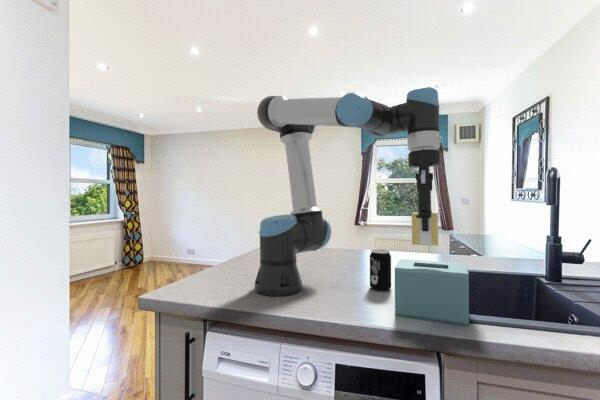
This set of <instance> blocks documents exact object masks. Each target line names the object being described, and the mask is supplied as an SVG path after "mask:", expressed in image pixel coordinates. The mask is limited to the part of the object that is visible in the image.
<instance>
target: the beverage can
mask: <svg viewBox="0 0 600 400" xmlns="http://www.w3.org/2000/svg"><path fill="white" fill-rule="evenodd" d="M370 252H371V253H370V254H369V287H370V288H371V289H372V290H373V291H377V292H386V291H390V289H391V288H392V255H391V254H390V251H389V250H386V249H372V250H371V251H370Z"/></svg>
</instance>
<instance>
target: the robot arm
mask: <svg viewBox="0 0 600 400" xmlns="http://www.w3.org/2000/svg"><path fill="white" fill-rule="evenodd" d="M256 113H257V118H258V121H259V123H260V124H261V125H262V126H263V127H264V128H265V129H267V130H269V131H272V132H277V133H279V138H280V142H281V143H282V144H283V145H284V146H285V155H286V163H287V170H288V179H289V188H290V195H291V196H290V197H291V203H292V204H291V205H292V210H291V212H290V213H289V214H280V215H278V214H277V215H272V216H267V217H265V218H263V219H262V220H261V221H260V223H259V232H258V234H259V269H258V271H257V275H256V278H255V280H254V291H255V292H256V293H257V294H260V295H262V296H271V297H282V296H290V295H294V294H297V293H300V292H301V291H302V290H303V281H302V277H301V275H300V272H299V267H298V265H297V254H300V253H306V252H316V251H317V250H321V249H324V247H326V246H327V245H328V242H330V240H331V235H332V228H331V227H332V226H331V224H330V222H329V221H328V220H327V218H325V217H323V210H322V209H320V208H319V207H318V204H317V196H316V189H315V183H314V175H313V166H312V158H311V151H310V141H311V139H312V138H313V133H314V132H315V130H316V127H317V126H323V127H324V126H326V127H327V126H329V127H344V128H358V129H363V130H365V132H366V133H367V135H368V137H369V136H370V137H371V138H376V137H378V138H379V137H385V136H390V135H394V134H399V133H404V132H407V150H408V151H409V153H408V154H407V156H408V157H407V158H408V159H407V160H408V163H407V164H408V166H409V167H410V168H415V169H416V168H417V169H418V173H415V181H416V190H417V194H418V196H417V197H418V198H417V199H418V212H417V213H418V214H419V215H416V218H419V228H420V244H423V245H422V246H433V245H432V232H431V218H430V217H431V213H433V211H432V190H433V181H434V173H433V172H430V171H431V169H430V167H431V168H433V167H438V166H440V164H441V151H440V150H439V149H440V146H441V143H440V141H441V140H443V136H442V135H440V101H439V93H438V90H437V89H435V88H434V87H431V86H421V87H416V88H413V89H412V90H410V91H409V90H408V92H407V94H406V101H403V102H400V103H396V104H393V105H387V104H385V103H382V102H380V101H378V100H375V99H373V98H371V97H368V96H366V95H364V94H361V93H357V92H348V93H346V94H345V95H343V96H338V97H337V96H336V97H335V96H334V97H306V98H286V97H285V96H283V95H269V96H266V97H264V98H263V99H261V101H260V102H259V104H258V106H257V111H256Z"/></svg>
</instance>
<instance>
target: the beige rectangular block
mask: <svg viewBox="0 0 600 400" xmlns="http://www.w3.org/2000/svg"><path fill="white" fill-rule="evenodd" d="M416 215H419V214H418V212H411V245H413V246H424V245H423V244H420V228H419V218H416ZM430 218H431V232H432V245H431V246H432V247H433V246H434V247H435V246H436V247H437V246H439V213H438V212H432V213H431V217H430Z"/></svg>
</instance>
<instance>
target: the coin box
mask: <svg viewBox="0 0 600 400" xmlns="http://www.w3.org/2000/svg"><path fill="white" fill-rule="evenodd" d="M467 268H468V267H467V265H466V263H463V262H448V261H435V260H434V261H433V260H423V259H422V260H419V259H418V260H417V259H405V258H400V259H399V260H398V261H397V264H396V265H395V266H394V316H395V317H402V318H409V319H415V320H416V319H417V320H423V321H429V322H437V323H444V324H450V325H451V324H452V325H458V326H464V327H469V326H470V290H469V288H470V285H469V284H470V282H469V281H470V280H469V279H470V276H469V274H470V273H469V271H468V269H467Z"/></svg>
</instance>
